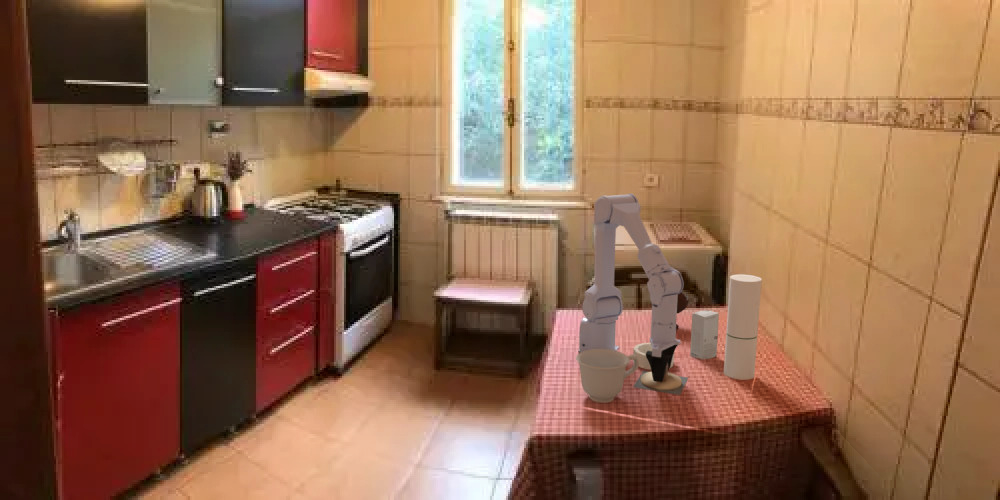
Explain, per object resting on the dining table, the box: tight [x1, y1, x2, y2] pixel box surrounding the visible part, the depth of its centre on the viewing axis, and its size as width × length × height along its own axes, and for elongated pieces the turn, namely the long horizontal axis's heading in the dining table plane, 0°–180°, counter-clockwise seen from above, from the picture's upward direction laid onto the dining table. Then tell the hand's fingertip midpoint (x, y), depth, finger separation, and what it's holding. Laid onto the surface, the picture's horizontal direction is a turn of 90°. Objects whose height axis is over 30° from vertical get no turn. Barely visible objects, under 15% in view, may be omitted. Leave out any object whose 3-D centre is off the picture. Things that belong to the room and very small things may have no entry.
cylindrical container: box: [723, 273, 763, 381], centre depth 163 cm, size 7×7×25 cm
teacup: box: [575, 349, 639, 404], centre depth 152 cm, size 12×15×10 cm
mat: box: [632, 370, 689, 396], centre depth 160 cm, size 11×11×1 cm
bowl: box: [632, 342, 675, 371], centre depth 173 cm, size 10×10×4 cm
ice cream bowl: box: [676, 291, 690, 330], centre depth 201 cm, size 11×11×15 cm
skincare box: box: [689, 309, 720, 360], centre depth 177 cm, size 6×4×12 cm
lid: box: [641, 363, 682, 390], centre depth 160 cm, size 10×10×5 cm
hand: (661, 375), depth 160 cm, fingers open, 7 cm apart
